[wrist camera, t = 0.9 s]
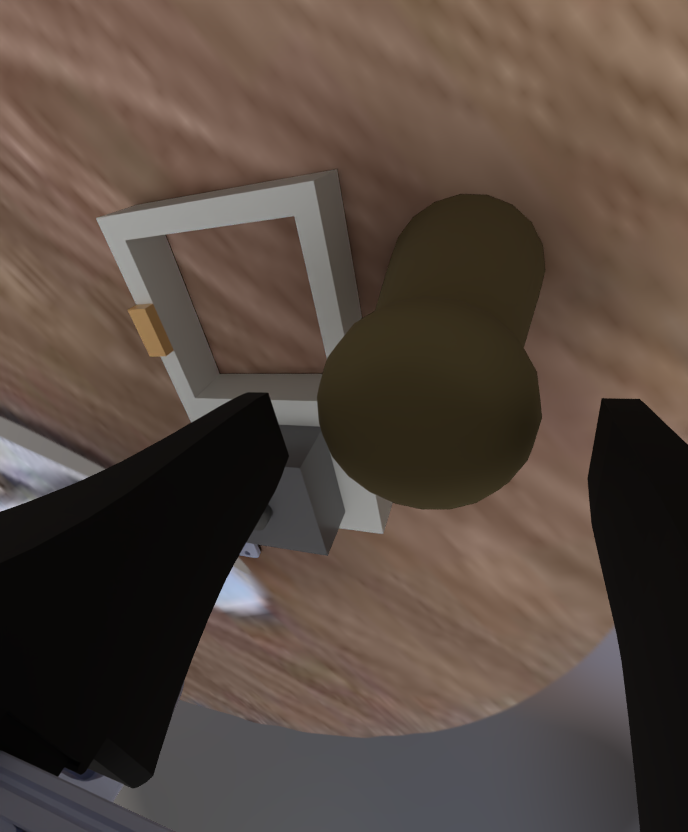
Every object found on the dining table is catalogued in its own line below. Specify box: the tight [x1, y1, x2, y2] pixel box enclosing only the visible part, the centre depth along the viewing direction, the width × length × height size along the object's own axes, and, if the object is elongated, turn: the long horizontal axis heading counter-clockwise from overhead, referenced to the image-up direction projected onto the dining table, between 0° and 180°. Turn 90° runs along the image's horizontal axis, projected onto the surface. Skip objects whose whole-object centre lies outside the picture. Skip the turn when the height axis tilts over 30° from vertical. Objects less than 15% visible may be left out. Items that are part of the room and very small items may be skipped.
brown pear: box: [317, 194, 545, 509], centre depth 13 cm, size 6×6×11 cm
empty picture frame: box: [96, 169, 393, 556], centre depth 21 cm, size 10×18×6 cm, turn 11°
